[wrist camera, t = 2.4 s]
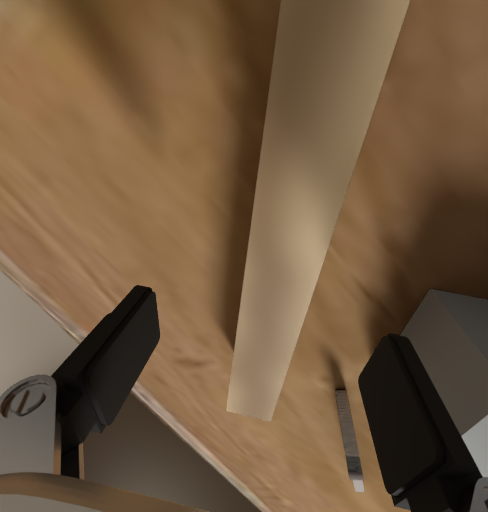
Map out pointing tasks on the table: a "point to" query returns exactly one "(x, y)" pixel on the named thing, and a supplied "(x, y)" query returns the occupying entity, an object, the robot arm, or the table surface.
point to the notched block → (456, 361)
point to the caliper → (349, 440)
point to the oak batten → (304, 175)
